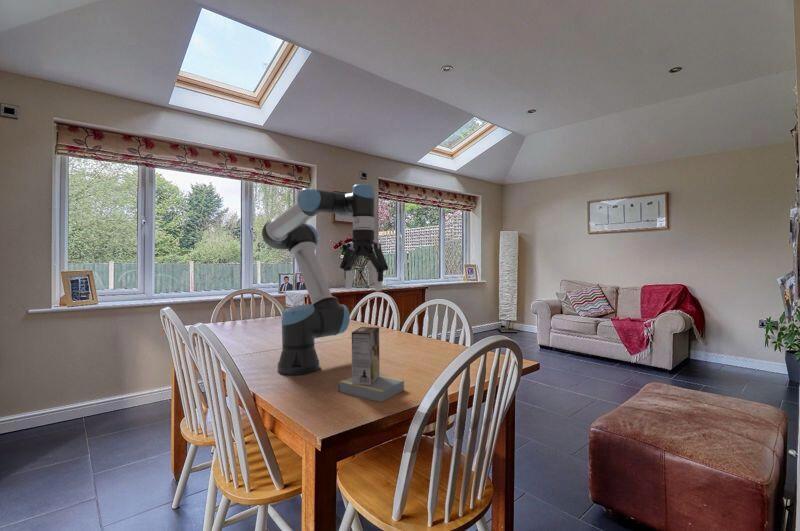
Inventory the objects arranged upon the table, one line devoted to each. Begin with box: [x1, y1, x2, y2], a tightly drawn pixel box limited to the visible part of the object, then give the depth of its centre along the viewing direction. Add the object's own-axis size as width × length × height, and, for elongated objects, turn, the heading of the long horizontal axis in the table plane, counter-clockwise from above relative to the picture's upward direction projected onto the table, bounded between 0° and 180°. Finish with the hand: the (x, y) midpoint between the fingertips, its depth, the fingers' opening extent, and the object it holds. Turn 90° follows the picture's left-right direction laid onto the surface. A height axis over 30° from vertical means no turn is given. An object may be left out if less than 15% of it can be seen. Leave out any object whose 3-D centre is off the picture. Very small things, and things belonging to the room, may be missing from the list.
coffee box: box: [351, 326, 381, 385], centre depth 120 cm, size 9×6×16 cm
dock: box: [337, 374, 405, 403], centre depth 120 cm, size 17×12×3 cm
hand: (363, 289), depth 135 cm, fingers open, 13 cm apart
